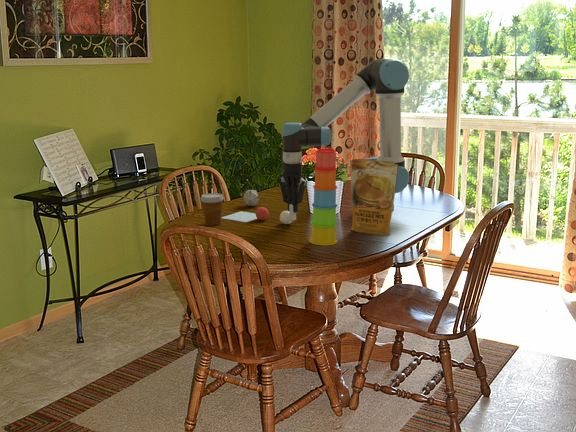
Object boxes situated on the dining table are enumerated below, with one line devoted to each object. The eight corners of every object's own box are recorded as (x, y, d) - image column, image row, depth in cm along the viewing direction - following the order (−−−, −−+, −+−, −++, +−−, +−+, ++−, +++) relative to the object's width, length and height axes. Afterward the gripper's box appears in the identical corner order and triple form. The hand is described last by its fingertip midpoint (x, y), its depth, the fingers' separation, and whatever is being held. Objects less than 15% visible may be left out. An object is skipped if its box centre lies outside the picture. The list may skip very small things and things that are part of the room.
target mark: (266, 215, 304) (266, 215, 304) (246, 222, 293) (246, 222, 293) (241, 211, 312) (241, 211, 312) (220, 218, 301) (220, 217, 301)
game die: (254, 213, 324) (266, 195, 325) (252, 211, 316) (264, 192, 317) (238, 203, 326) (250, 184, 326) (235, 200, 317) (247, 181, 318)
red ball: (271, 219, 297) (271, 206, 296) (263, 222, 293) (263, 209, 291) (261, 217, 300) (260, 205, 299) (252, 220, 296) (252, 207, 295)
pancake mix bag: (353, 227, 282) (353, 157, 276) (398, 233, 273) (399, 161, 266) (345, 231, 277) (345, 160, 270) (390, 237, 267) (392, 163, 260)
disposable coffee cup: (203, 227, 286) (202, 198, 283) (200, 222, 295) (198, 193, 292) (226, 225, 288) (225, 196, 285) (222, 220, 297) (221, 192, 294)
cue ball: (297, 221, 289) (293, 208, 289) (289, 224, 285) (285, 211, 285) (286, 223, 293) (283, 210, 292) (278, 226, 288) (275, 213, 288)
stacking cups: (335, 238, 267) (335, 146, 259) (338, 245, 257) (338, 150, 249) (308, 238, 267) (307, 147, 259) (310, 246, 257) (309, 151, 249)
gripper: (273, 162, 282) (274, 219, 287) (301, 164, 275) (301, 223, 280) (284, 159, 288) (284, 216, 293) (311, 162, 281) (311, 220, 286)
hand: (292, 219), depth 287 cm, fingers closed
